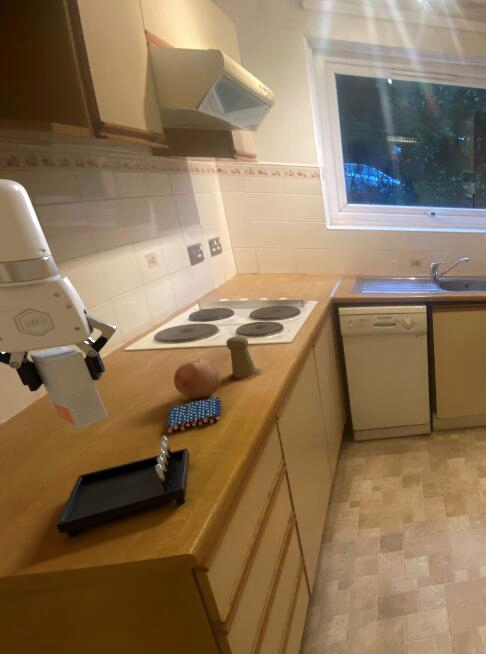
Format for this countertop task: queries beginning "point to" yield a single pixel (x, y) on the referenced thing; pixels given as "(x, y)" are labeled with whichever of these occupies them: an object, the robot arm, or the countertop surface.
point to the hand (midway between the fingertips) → (68, 381)
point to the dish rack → (126, 489)
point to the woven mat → (194, 413)
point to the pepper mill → (240, 357)
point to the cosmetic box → (70, 386)
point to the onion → (197, 378)
